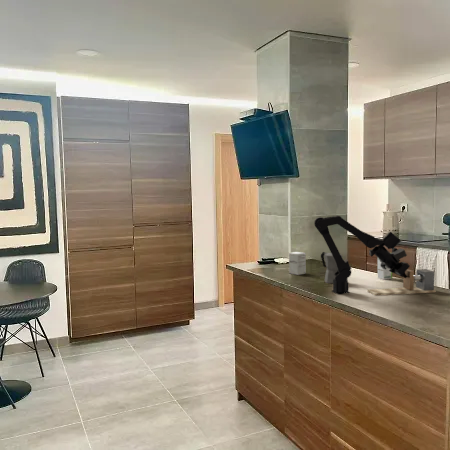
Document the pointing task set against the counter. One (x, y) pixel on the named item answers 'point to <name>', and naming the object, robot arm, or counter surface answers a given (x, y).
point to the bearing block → (425, 279)
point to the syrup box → (383, 272)
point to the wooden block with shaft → (411, 279)
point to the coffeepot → (329, 266)
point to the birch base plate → (397, 291)
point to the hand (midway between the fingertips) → (406, 277)
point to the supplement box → (297, 263)
